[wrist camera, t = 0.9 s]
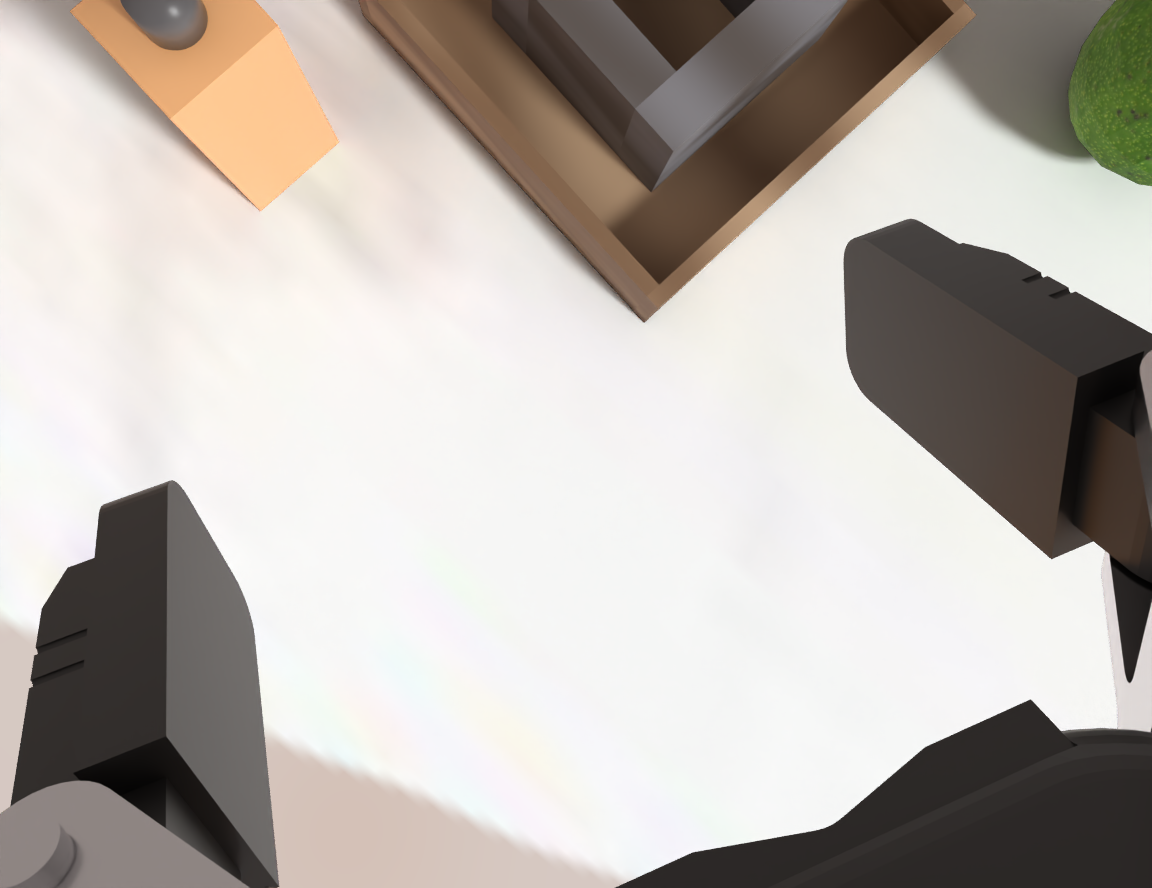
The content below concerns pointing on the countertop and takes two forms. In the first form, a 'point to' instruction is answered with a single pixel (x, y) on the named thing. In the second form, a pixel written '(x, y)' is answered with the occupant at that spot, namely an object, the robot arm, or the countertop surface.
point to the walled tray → (713, 176)
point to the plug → (220, 84)
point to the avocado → (1116, 91)
